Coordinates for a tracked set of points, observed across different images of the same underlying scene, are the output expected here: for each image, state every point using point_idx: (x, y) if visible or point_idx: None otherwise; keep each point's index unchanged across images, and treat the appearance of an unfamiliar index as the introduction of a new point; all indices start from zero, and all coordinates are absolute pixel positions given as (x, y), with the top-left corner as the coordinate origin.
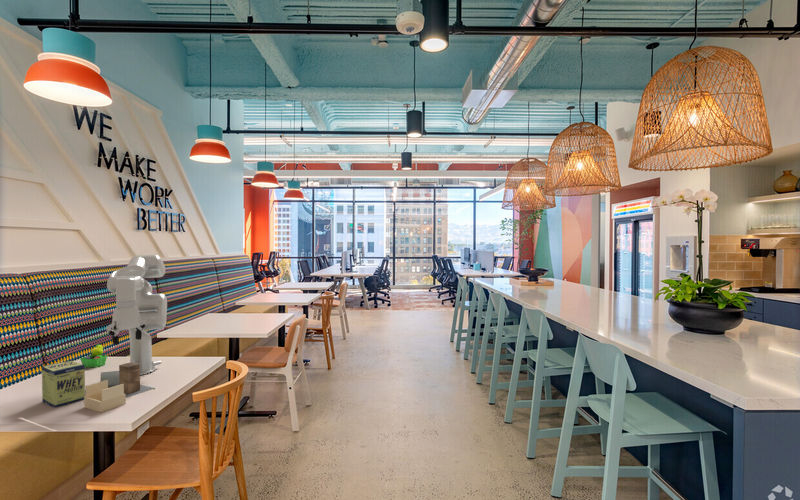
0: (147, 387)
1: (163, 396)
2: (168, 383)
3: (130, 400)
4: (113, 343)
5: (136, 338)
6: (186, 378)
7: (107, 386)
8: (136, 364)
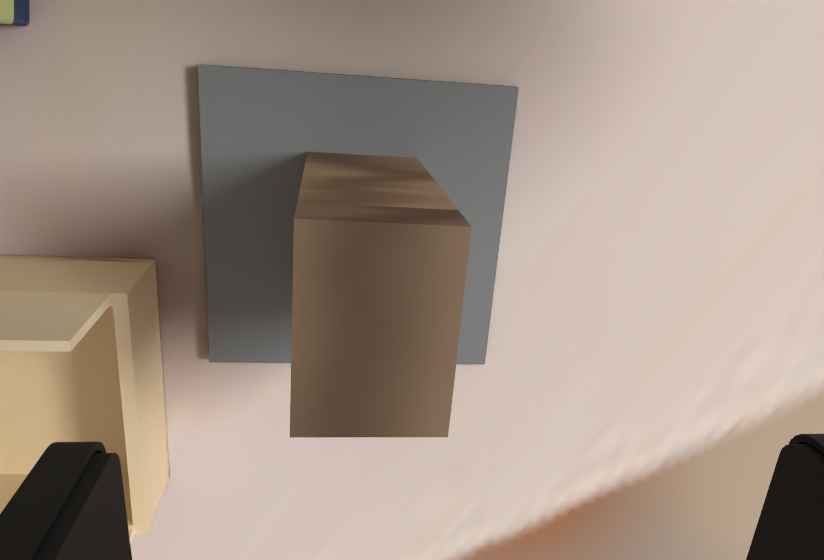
0: (475, 291)
1: (394, 548)
2: (625, 325)
3: (240, 419)
4: (48, 469)
5: (785, 492)
6: (761, 349)
7: (92, 320)
8: (415, 421)
